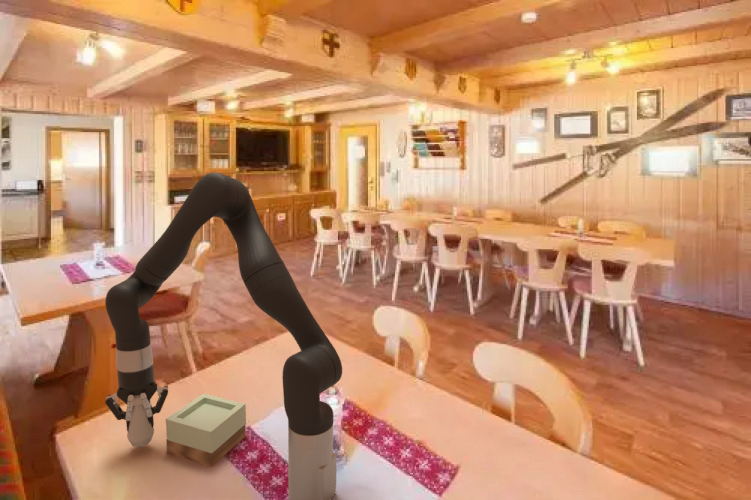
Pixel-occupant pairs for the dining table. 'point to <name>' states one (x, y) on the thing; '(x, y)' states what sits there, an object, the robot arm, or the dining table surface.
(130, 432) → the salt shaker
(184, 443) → the top block
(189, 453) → the base block
